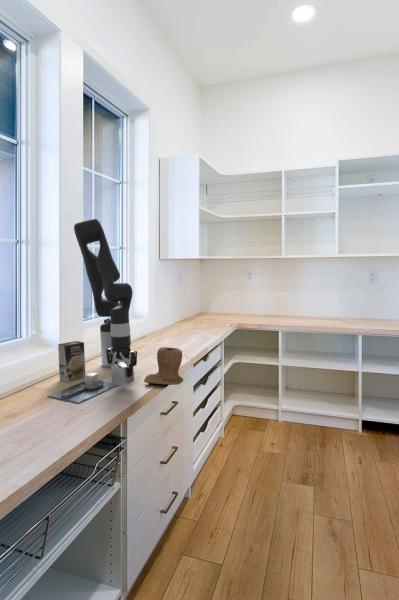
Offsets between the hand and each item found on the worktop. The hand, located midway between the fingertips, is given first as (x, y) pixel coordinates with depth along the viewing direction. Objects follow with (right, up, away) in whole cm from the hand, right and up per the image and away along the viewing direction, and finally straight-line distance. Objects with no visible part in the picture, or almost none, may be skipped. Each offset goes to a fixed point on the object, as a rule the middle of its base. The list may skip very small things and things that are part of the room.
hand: (122, 375), depth 147 cm
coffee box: (-25, -5, +16) cm, 30 cm away
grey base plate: (-15, -6, 0) cm, 16 cm away
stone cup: (+16, -5, +8) cm, 19 cm away
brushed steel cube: (0, -3, 0) cm, 3 cm away
